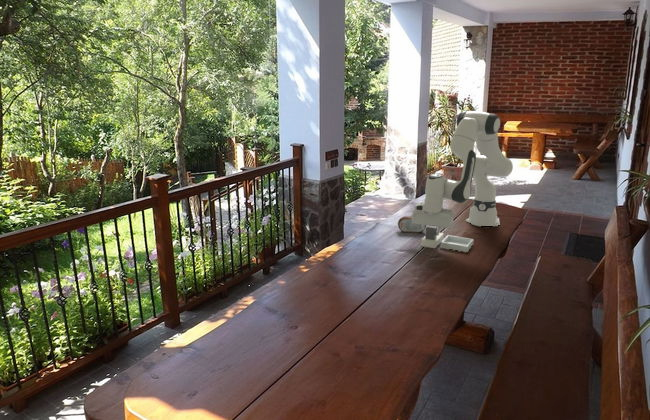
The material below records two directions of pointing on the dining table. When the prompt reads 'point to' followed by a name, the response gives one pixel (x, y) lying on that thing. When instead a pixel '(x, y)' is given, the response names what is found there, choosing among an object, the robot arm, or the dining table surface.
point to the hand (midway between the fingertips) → (431, 234)
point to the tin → (409, 225)
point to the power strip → (432, 241)
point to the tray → (456, 243)
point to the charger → (431, 233)
